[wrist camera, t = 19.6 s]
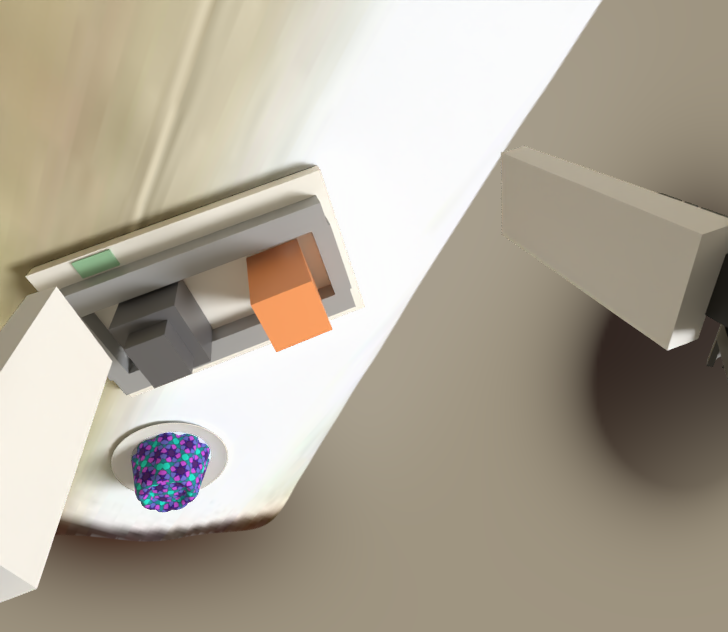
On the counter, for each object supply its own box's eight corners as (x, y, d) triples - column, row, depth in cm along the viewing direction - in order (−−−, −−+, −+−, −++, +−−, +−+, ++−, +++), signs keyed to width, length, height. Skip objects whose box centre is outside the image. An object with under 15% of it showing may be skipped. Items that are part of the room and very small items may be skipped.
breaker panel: (134, 387, 42) (127, 412, 39) (32, 268, 33) (14, 289, 31) (361, 299, 43) (370, 317, 40) (317, 165, 35) (325, 176, 32)
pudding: (221, 409, 46) (220, 446, 42) (233, 479, 53) (234, 518, 49) (98, 427, 43) (84, 469, 39) (127, 499, 50) (118, 542, 46)
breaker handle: (159, 347, 38) (148, 401, 33) (121, 296, 35) (101, 346, 29) (212, 327, 39) (210, 376, 33) (180, 275, 35) (171, 319, 30)
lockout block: (268, 300, 39) (276, 352, 32) (246, 257, 36) (250, 305, 30) (314, 281, 39) (332, 329, 33) (296, 238, 36) (311, 280, 30)
